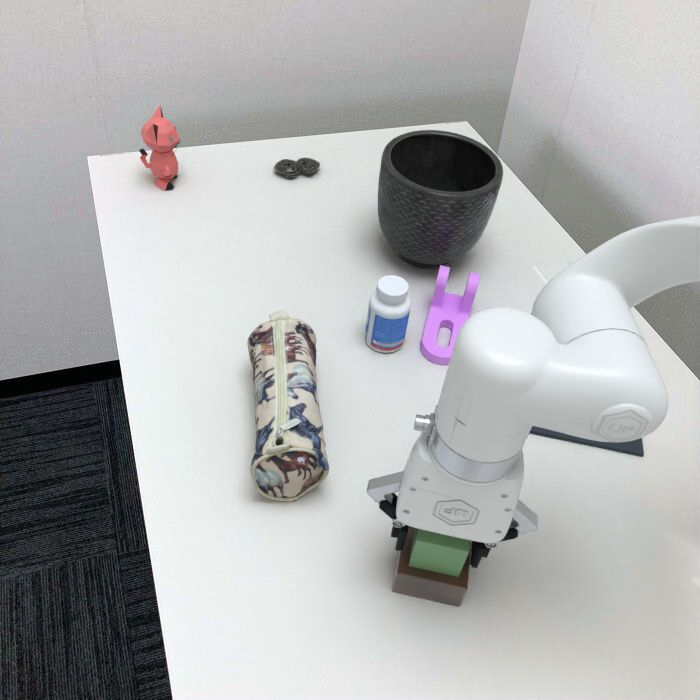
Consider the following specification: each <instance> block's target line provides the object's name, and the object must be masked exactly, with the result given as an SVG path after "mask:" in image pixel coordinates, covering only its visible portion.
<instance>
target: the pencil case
mask: <svg viewBox="0 0 700 700" xmlns="http://www.w3.org/2000/svg"><path fill="white" fill-rule="evenodd" d="M268 317H269V319H270V320H268V321H265V322H263V323H260V324H259V325H257V326H256V327H255V328H254V329H253V330H252V332H251V333H250V334H249V336H248V338H247V343H246V346H247V352H248V356H249V357H248V358H249V361H250V365H251V368H252V381H253V382H252V383H253V391H254V392H253V393H254V395H253V396H254V403H255V408H256V409H255V414H254V421H255V429H256V430H255V431H256V432H255V447H254V449H255V450H254V451H255V453H254V454H253V456H252V459H251V463H250V467H249V472H250V475H251V478H252V482H253V484H254V487H255V489H256V490H257V492H258V493H259V494H260V495H262V496H263V497H265V498H267V499H270V500H273V501H278V502H295V501H296V500H299V499H300V498H301V497H303V496H304V495H305V494H307V493H308V492H309V491H311V490H313V489H315V488H316V487H317V486H319V485H320V484H322V482H324V481H325V480H326V478H327V477H328V475H329V472H330V464H329V461H328V454H327V450H326V440H325V436H324V423H323V419H322V414H321V408H320V401H319V397H318V396H319V395H318V390H317V385H318V381H317V372H316V371H317V337H316V336H317V335H316V333H315V330H314V329H313V328H312V327H311V325H309V324H308V323H307V322H305V321H304V320H302V319H300V318H297V317H289V313H288V311H287V309H282V310H279V311H278V310H277V311H275V312H272V313H270V314H268Z"/></svg>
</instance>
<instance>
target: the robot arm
mask: <svg viewBox="0 0 700 700" xmlns="http://www.w3.org/2000/svg"><path fill="white" fill-rule="evenodd" d="M698 282H699V283H700V215H692V216H685V217H678V218H674V219H668V220H663V221H656V222H652V223H647V224H644V225H640V226H636V227H634V228H631V229H629V230H626V231H624V232H621V233H619V234H617V235H616V236H614V237H612V238H610V239H609V240H606V241H605V242H604V243H602V244H600V245H598V246H597V247H595V248H594V249H592V250H590V251H589V252H588V253H586V254H585V255H583V256H582V257H580V258H578V259H577V260H575V261H574V262H572V263H570V264H569V265H568V266H566V267H565V268H564V269H562V270H561V271H560V272H559V273H557V274H556V275H555V276H553V277H552V278H551V279H550V280H549V281H548V282H547V283H546V284H545V285H544V287H543V288H541V290H540V291H539V293H537V295H536V298H535V299H534V301H533V305H532V307H531V308H532V309H531V313H529V312H527V311H524V310H521V309H519V308H513V307H508V306H507V307H506V306H493V307H488V308H484V309H481V310H479V311H477V312H475V313H474V314H472V315H470V316H469V318H468V319H467V320H466V321H465V322H464V324H463V325H462V327H461V328H460V330H459V332H458V335H457V338H456V341H455V344H454V347H453V351H452V355H451V358H450V362H449V365H447V369H446V372H445V376H444V380H443V383H442V387H441V391H440V395H439V398H438V401H437V404H436V405H435V407H434V412H430V414H425V415H423V414H417V413H416V415H415V419H414V424H413V431H417V432H420V434H419V435H418V437H417V438H416V440H415V442H414V443H413V446H412V449H411V451H410V453H409V455H408V458H407V460H406V463H405V466H404V469H403V470H402V471H398V472H395V473H390V474H386V475H383V476H378V477H375V478H370V479H369V480H368V483H367V487H366V494H367V495H368V496H369V497H370V498H371V499H372V500H373V502H375V503H377V504H378V508H379V509H380V510H381V511H382V512H383V513H384V514H385V515H386V516H387V517H389V518H390V519H391V525H392V528H391V531H390V532H391V534H390V537H391V538H396V543H395V548H394V549H395V551H397V552H398V551H401V550H403V547H404V544H405V540H406V537H407V533H408V528H409V526H411V527H414V528H418V529H422V530H426V531H431V532H435V533H439V534H444V535H448V536H453V537H458V538H462V539H467V540H472V544H471V556H470V566H471V568H474V569H478V567H479V565H480V562H481V560H482V558H486V559H487V558H488V556H489V554H490V552H491V549H497V548H498V547H499V543H501V542H505V541H511V540H515V539H517V538H518V537H519V535H525V534H530V533H532V532H535V531H538V529H539V516H538V515H537V514H536V512H534V511H533V510H532V509H530V508H529V507H528V506H527V505H526V503H524V502H523V501H522V500H521V499H520V495H521V491H522V487H523V482H524V475H525V460H524V451H523V448H524V447H525V443H526V441H527V439H528V436H529V434H530V433H529V432H530V430H531V428H532V426H536V427H540V428H545V429H549V430H552V431H556V432H560V433H564V434H568V435H572V436H576V437H580V438H584V439H589V440H594V441H600V442H628V441H633V440H637V439H640V438H642V439H643V438H645V437H647V436H649V435H651V434H652V433H655V431H656V430H658V429H659V427H661V425H662V424H663V423H664V421H665V419H666V417H667V414H668V411H669V393H668V391H667V387H666V384H665V381H664V380H663V377H662V375H661V373H660V370H659V368H658V366H657V364H656V362H655V360H654V358H653V356H652V354H651V351H650V350H649V347H648V344H647V342H646V340H645V337H644V336H643V334H642V332H641V330H640V328H639V325H638V323H637V320H636V319H635V317H634V314H633V312H632V308H634V307H635V306H637V305H639V304H640V303H642V302H644V301H646V300H647V299H649V298H650V297H653V296H655V295H656V294H658V293H661V292H663V291H665V290H667V289H668V290H669V289H670V288H674V287H677V286H680V285H686V284H690V283H698ZM396 493H397V494H396Z"/></svg>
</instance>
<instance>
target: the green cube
mask: <svg viewBox="0 0 700 700" xmlns="http://www.w3.org/2000/svg"><path fill="white" fill-rule="evenodd" d="M469 547H470V540H467V539H462V538H458V537H453V536H448V535H444V534H439V533H435V532H431V531H426V530H422V529H418V528H414V533H413V539H412V546H411V553H410V559H409V566H411V567H415V568H420V569H424V570H429V571H433V572H438V573H442V574H447V575H451V576H455V577H459V575H460V572H461V570H462V568H463V565H464V563H465V560H466V558H467V556H468V553H469Z"/></svg>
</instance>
